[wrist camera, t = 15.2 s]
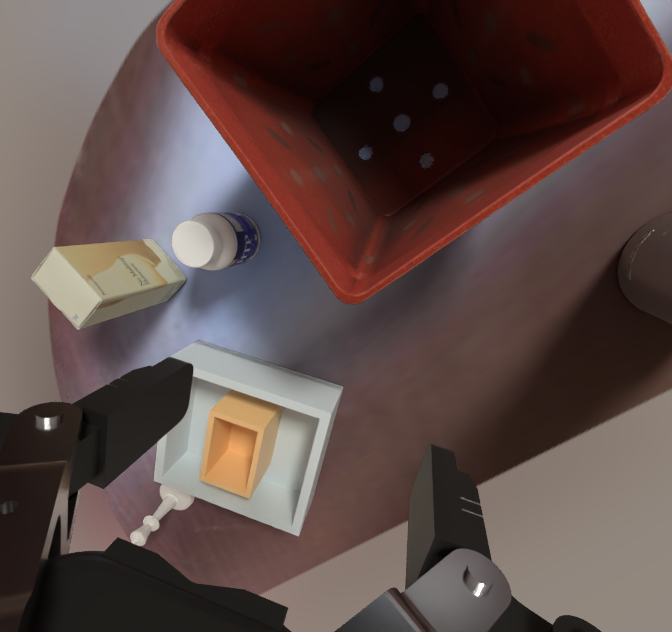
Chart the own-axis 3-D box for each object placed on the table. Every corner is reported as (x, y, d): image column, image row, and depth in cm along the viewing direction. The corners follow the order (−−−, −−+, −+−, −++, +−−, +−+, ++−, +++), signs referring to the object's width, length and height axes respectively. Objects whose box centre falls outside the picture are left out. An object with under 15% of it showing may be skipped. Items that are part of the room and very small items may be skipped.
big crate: (343, 386, 43) (331, 413, 37) (313, 497, 48) (298, 536, 42) (198, 339, 45) (166, 358, 40) (183, 450, 50) (153, 480, 45)
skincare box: (189, 278, 44) (105, 303, 32) (167, 302, 45) (79, 334, 33) (150, 235, 43) (51, 244, 32) (129, 260, 45) (27, 278, 33)
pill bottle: (246, 272, 42) (203, 288, 34) (208, 244, 42) (154, 252, 34) (270, 231, 40) (230, 237, 32) (230, 202, 40) (179, 200, 32)
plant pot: (561, 143, 33) (693, 81, 17) (377, 271, 39) (346, 313, 23) (436, -59, 31) (451, -342, 15) (264, 108, 37) (145, 33, 21)
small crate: (284, 400, 44) (264, 428, 38) (270, 464, 47) (249, 499, 41) (236, 384, 45) (209, 409, 39) (225, 447, 47) (199, 479, 42)
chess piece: (165, 470, 52) (108, 528, 43) (197, 485, 51) (147, 547, 42) (159, 498, 54) (103, 559, 44) (191, 512, 53) (141, 577, 44)
